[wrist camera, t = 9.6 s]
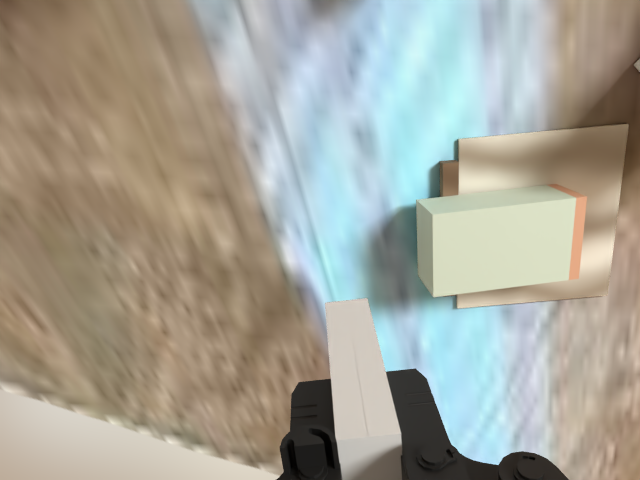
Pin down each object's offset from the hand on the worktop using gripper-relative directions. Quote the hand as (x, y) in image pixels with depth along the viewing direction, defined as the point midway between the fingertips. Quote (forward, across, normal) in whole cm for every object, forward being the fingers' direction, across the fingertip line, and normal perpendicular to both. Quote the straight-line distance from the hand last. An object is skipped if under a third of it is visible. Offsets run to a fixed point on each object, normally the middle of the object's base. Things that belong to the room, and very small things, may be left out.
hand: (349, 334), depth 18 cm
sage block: (+28, +9, -9) cm, 30 cm away
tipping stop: (+31, +20, -9) cm, 38 cm away
